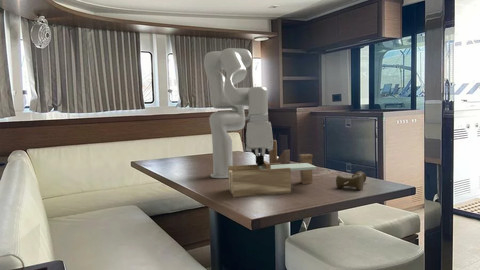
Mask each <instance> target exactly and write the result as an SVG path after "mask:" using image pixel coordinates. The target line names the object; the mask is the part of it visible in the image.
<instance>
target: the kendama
mask: <svg viewBox="0 0 480 270" xmlns="http://www.w3.org/2000/svg"><path fill="white" fill-rule="evenodd" d="M366 180H367V175H366V173H365V172H363V171H359V170H358V171H356V172H355V173H353V174H352V176H351V177H346V176H344V175H343V174H338V175H337V176H336V178H335V184H336V187H337V189H343V188H344V187H345V188H346V187H353V188H355V189H357V190H358V191H362V190H363V188H364V183H366Z"/></svg>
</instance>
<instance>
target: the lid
mask: <svg viewBox="0 0 480 270" xmlns="http://www.w3.org/2000/svg"><path fill="white" fill-rule="evenodd" d="M277 168H290V171H291V172H293V171H295V172H296V171H300V170H311V169H312V170H317V169H318V167H317V166H315V165H313V164H312V165H311V164H309V163H300V162H299V163H290V164H280V165H271V164H270V163H269V162H268V161H266V160H264V164H263V166H259V169H277Z"/></svg>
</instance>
